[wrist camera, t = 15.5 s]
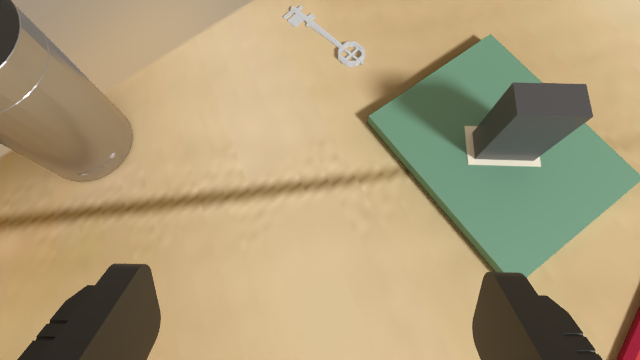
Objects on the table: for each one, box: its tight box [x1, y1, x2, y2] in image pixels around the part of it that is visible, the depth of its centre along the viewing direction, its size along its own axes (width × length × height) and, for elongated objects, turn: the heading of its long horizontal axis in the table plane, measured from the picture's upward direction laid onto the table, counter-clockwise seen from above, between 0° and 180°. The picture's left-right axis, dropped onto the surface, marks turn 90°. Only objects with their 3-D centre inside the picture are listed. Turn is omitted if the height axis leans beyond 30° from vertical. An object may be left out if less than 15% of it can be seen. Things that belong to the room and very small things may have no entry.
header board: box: [367, 34, 640, 277], centre depth 41 cm, size 22×18×4 cm
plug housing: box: [472, 82, 593, 161], centre depth 37 cm, size 3×6×10 cm, turn 88°
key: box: [283, 6, 365, 67], centre depth 48 cm, size 12×1×3 cm
